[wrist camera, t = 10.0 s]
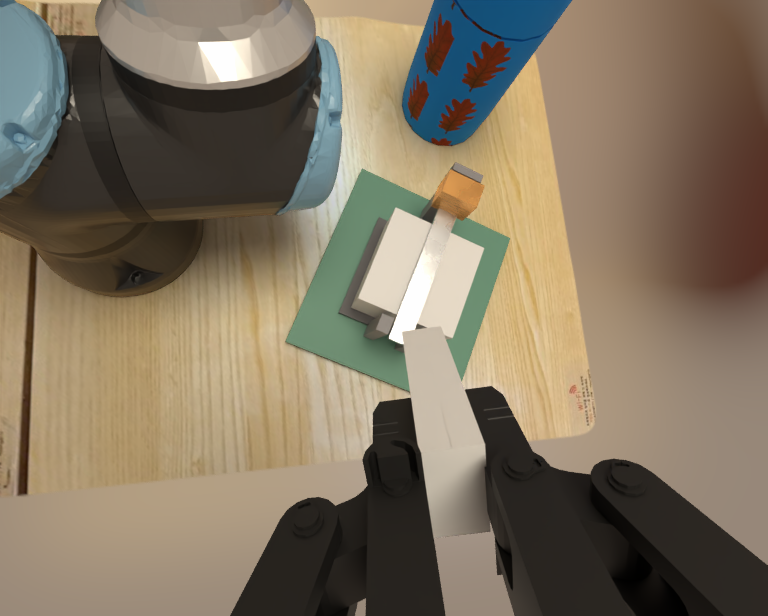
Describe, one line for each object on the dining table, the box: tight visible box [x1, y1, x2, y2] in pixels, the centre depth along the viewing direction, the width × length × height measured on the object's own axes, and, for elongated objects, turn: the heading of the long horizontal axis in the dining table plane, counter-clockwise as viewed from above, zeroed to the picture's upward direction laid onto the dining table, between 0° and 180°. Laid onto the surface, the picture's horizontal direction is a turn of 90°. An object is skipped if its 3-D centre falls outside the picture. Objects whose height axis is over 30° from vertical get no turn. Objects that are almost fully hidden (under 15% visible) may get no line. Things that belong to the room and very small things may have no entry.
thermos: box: [402, 0, 572, 146], centre depth 39 cm, size 11×11×25 cm
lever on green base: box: [286, 162, 510, 392], centre depth 42 cm, size 20×22×11 cm
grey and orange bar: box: [388, 170, 484, 345], centre depth 38 cm, size 4×16×4 cm, turn 159°
